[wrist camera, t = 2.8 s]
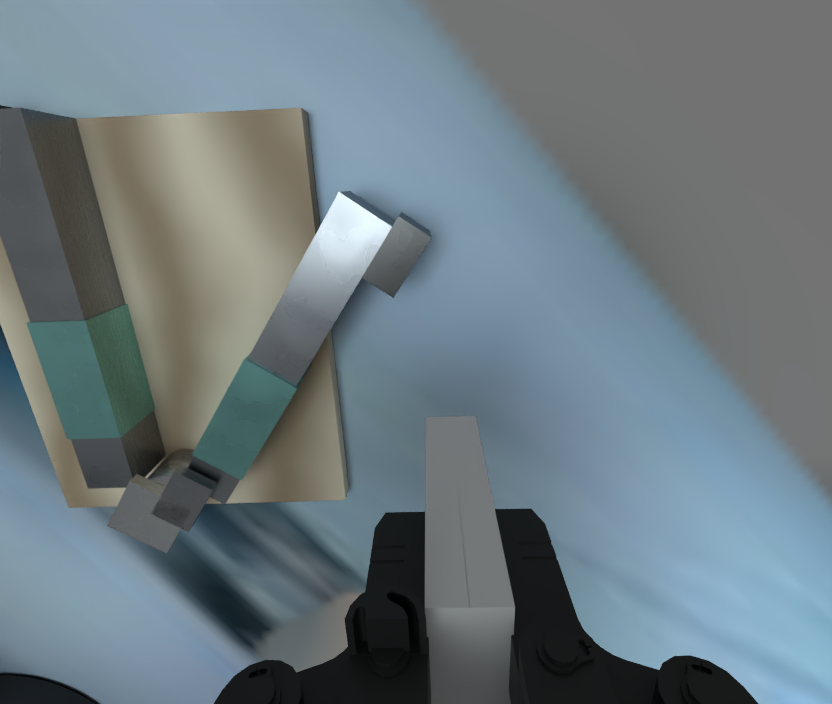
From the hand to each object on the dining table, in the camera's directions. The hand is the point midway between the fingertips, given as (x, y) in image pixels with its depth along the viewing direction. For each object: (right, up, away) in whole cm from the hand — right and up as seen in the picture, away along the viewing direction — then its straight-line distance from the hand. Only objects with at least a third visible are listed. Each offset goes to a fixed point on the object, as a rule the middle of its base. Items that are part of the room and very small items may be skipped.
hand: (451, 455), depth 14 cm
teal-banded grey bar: (-17, +5, +10) cm, 20 cm away
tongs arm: (-9, +2, +10) cm, 13 cm away
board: (-14, +4, +11) cm, 18 cm away
